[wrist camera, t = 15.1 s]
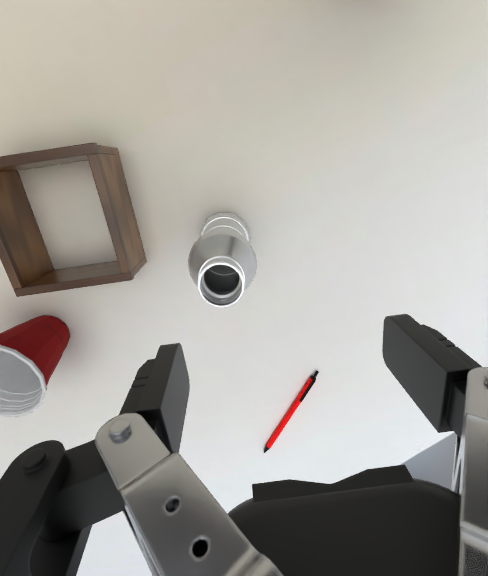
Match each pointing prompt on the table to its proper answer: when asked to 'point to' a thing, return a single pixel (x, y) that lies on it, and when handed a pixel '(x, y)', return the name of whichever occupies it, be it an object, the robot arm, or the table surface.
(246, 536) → the robot arm
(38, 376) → the plastic cup
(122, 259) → the wooden box
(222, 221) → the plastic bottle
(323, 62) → the table surface
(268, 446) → the pen
